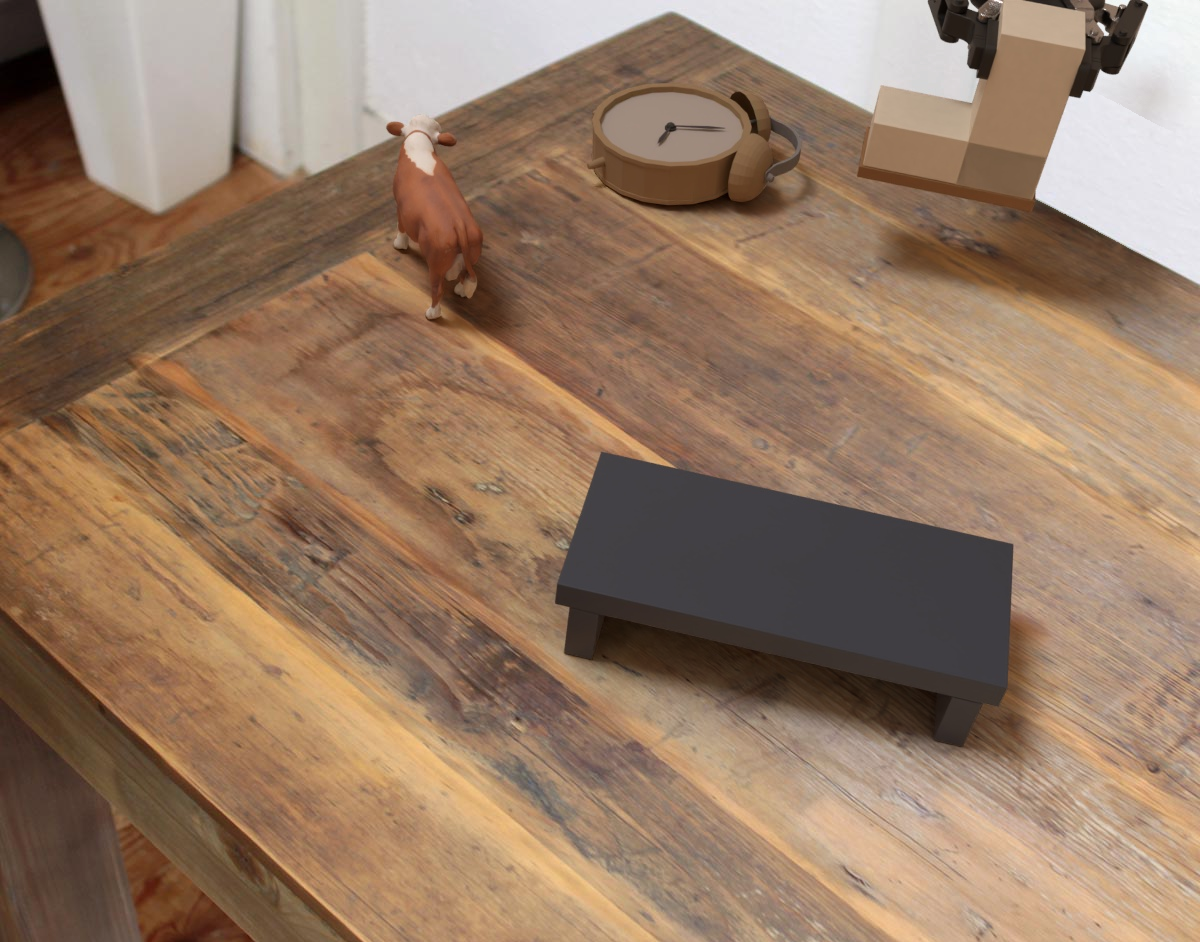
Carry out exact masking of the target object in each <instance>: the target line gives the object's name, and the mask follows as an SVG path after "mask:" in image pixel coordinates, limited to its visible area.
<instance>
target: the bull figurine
mask: <svg viewBox="0 0 1200 942" xmlns="http://www.w3.org/2000/svg"><path fill="white" fill-rule="evenodd" d="M385 129H386V131H387V133H389V135H392V136H395V137H404V138H405V139H404V140H403V143H402V145H401V146H400V150H399V154H398V155H399V156H398V160H397V162H398V163H397V166H396V170H395V174H394V176H393V180H392V181H393V182H392V194H393V197H394V200H395V202H396V217H397V224H396V228H397V231H398V233H397V236H396V238H395V239H393V242H392V247H393V248H394V249H395V250H400V249H403V250H407V249H408V247H409V239H410V240H411V241H412V242H414V243H415V244H416V245H417V246H419V249H420V251H421V253H422V255H423V256H424V258H425V261H426V263H427V266H428V269H429V270H428V271H429V281H430V286H431V289H430V296H431V304H430V306H429V307H428V308H427V310H426V311H425V312H424V316H425V318H427V320H436V319H438V318H440V317H441V315H442V307H441V299H442V297H443V295H444V294H445V279H446V281H450V282H451V281H453V280H457V279H458V277H459V282H457V284H456V285H455V287H454V289H453V292H454V293H455V294H456V295H458V296H460V297H461V298H465V297H466V298H467V299H471V298H472V297H473V296H474V293H475V291H476V290H477V286H478V278H477V275H476V273H475V271H474V269H473V266H475V265H476V264H477V263H478V260H479V258H480V256H481V254H482V252H483V251H482V250H483V248H482V247H483V243H484V234H483V231H482V229H481V227H480V226H479V224H478V223H477V221H476V220H475V218H474V215H473V212H472V210H471V207H470V205H469V204H468V203H467V200H466V199H465V196H464V195H463V193H462V191H461V189H460V187H459V186H458V184H457V182H456V180H455V178H454V176H453V174H452V172H451V170H450V168H449V167H448V165H446V163H445V162H444V161H443V160H442V159H441V158H440V157H438V155H437V154H438V153H439V151H440V146H443V147H454V146H456V145H457V142H458V140H457V138H456V136H455V135H454V134H452V133H451V132H442V126H441V125H440V123H439V122H438V121H436V120H435V119H434V118H433V117H431V116H429V115H427V114H417V115H415V116H413V117H412V118H410V121H409V123H408V124H407V125H406V124H404V123H403V122H401V121H390V122H388V123H387V124H386V126H385Z"/></svg>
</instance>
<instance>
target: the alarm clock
mask: <svg viewBox="0 0 1200 942" xmlns="http://www.w3.org/2000/svg"><path fill="white" fill-rule="evenodd" d="M592 116H593V117H592V119H591V125H592V143H591V145H592V147H591V149H592V150H591V151H592V152H591V154H590V155H591V161H590V162H588V163H587V164H586V167H587V169H588V170H593V172H594V173H595V174H596V175H597V177H598V178H599V180H600V181H601V182H602V183H603V184H604V185H606V186H607V187H609V188H610V189H612V190H613V191H615V192H616V193H618V194H620V195H622V196H625V197H628V198H630V199H634V200H637V201H640V202H642V203H649V204H658V205H665V206H676V205H677V206H679V205H696V204H698V203H703V202H708V201H712V200H716V199H717V198H719V197H721V196H724V195H726V194H727V193H728V198H729V199H730V200H731V201H733V202H738V203H744V202H750V201H752V200H754V199H755V198H757V197H758V196H759V195H760V194H761V193H762V192H763V191H764V189H765V188H766V186H767V184H768V183H772V182H774V181H775V178H776V177H779V176H782V175H784V174H786V173H788V172H790V171H792V170H794V169H795V167H797V166H798V164H799V162H800V160H801V159H800V158H801V151H802V143H803V142H802V139H801V136H800V134H799V132H798V131H797V130H796V129H795V128H793V127H792V126H790V125H789V124H787V123H786V122H783V121H780V120H779V119H776V118H775V117H773V116H772V115H770V112H769V109H768V107H767V104H766V103H765V101H763V99H762V98H761V97H760V96H759V95H757V94H755V93H754V92H752V91H749V90H737V91H734V92H733V93H732V94H731V95H730V97H728V96H726V95H724V94H723V93H721V92H718V91H715V90H712V89H709V88H706V87H702V86H699V85H695V84H687V83H686V84H685V83H677V82H666V83H665V82H661V83H660V82H659V83H646V84H641V85H636V86H631V87H627V88H625V89H622V90H620V91H617V92H616V93H614V94H611V95H609V96H608V97H607V98H606V99H604V100H603V101H602V102H601V103H600V104H598V106H596V109H594V110H593V111H592ZM772 132H773V133H774V134H777V135H779V136H781V137H783V138H784V139H786V140H787V141H788V142H789V143H791V145H792V147H793V148H794V153H793V154H792V155H791V156H789V157H788V158H786V159H784V160H782V161H779V162H777V163H774V157H773V151H772V148H771V146H770V144H769V141H770V138H771V135H772Z"/></svg>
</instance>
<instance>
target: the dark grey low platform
mask: <svg viewBox="0 0 1200 942" xmlns="http://www.w3.org/2000/svg"><path fill="white" fill-rule="evenodd" d="M1013 566H1014V543H1011V542H1007V541H1002V540H997V539H994V538H990V537H989V538H988V537H984V536H980V535H975V534H971V533H967V532H962V531H958V530H953V529H948V528H945V527H940V526H936V525H930V524H927V523H921V522H918V521H913V520H908V519H904V518H900V517H895V516H891V515H886V514H883V513H878V512H873V511H869V510H864V509H859V508H855V507H850V506H846V505H843V504H842V505H841V504H837V503H833V502H829V501H824V500H819V499H815V498H811V497H806V496H802V495H797V494H793V493H790V492H789V493H787V492H785V491H784V492H783V491H780V490H776V489H771V488H766V487H761V486H757V485H752V484H748V483H743V482H739V481H735V480H731V479H726V478H722V477H717V476H713V475H708V474H705V473H700V472H695V471H691V470H687V469H681V468H677V467H674V466H673V467H672V466H669V465H668V466H667V465H665V464H659V463H655V462H650V461H646V460H642V459H637V458H632V457H628V456H623V455H619V454H616V453H615V454H614V453H610V452H605V451H601V452H600V454H599V457H598V460H597V463H596V466H595V469H594V471H593V475H592V478H591V480H590V484H589V487H588V490H587V492H586V495H585V498H584V502H583V505H582V508H581V511H580V513H579V517H578V520H577V523H576V525H575V529H574V532H573V535H572V539H571V541H570V544H569V547H568V549H567V552H566V556H565V559H564V561H563V565H562V568H561V570H560V574H559V576H558V579H557V582H556V590H555V596H554V597H555V598H554V604H555V605H559V606H563V607H566V608H569V609H568V616H567V623H566V631H565V640H564V648H563V654H566V655H570V656H573V657H578V658H583V659H586V660H593V659H594V655H595V652H596V649H597V645H598V642H599V638H600V635H601V632H602V628H603V625H604V621H605V618H606V617H609V618H613V619H618V620H623V621H627V622H631V623H636V624H640V625H644V626H649V627H653V628H657V629H661V630H666V631H669V632H674V633H678V634H683V635H687V636H691V637H696V638H700V639H704V640H709V641H712V642H717V643H721V644H726V645H730V646H734V647H738V648H742V649H747V650H752V651H755V652H760V653H764V654H768V655H772V656H778V657H781V658H786V659H790V660H794V661H799V662H803V663H806V664H811V665H816V666H820V667H824V668H829V669H833V670H838V671H842V672H846V673H850V674H855V675H858V676H863V677H867V678H872V679H876V680H880V681H883V682H889V683H893V684H896V685H902V686H906V687H910V688H915V689H918V690H924V691H928V692H932V693H936V704H935V714H934V725H933V727H934V728H933V736H932V737H933V739H932V740H933V741H935V742H940V743H945V744H948V745H953V746H957V747H961V748H962V747H964V745H965V743H966V741H967V738H968V736H969V734H970V732H971V730H972V728H973V726H974V723H975V721H976V720H977V717H978V714H979V713H980V711H981V708H982V707H983V704H984V705H988V706H992V707H995V708H998V707H1000V705H1001V702H1002V701H1003V698H1004V696H1005V694H1006V693H1007V690H1008V688H1009V687H1008V686H1009V664H1010V663H1009V662H1010V642H1011V641H1010V640H1011V638H1010V637H1011V620H1012V619H1011V618H1012V617H1011V616H1012V615H1011V614H1012V594H1013V592H1012V590H1013V572H1014V571H1013V568H1014V567H1013Z"/></svg>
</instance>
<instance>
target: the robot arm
mask: <svg viewBox="0 0 1200 942" xmlns="http://www.w3.org/2000/svg"><path fill="white" fill-rule="evenodd" d="M1024 1H1029V2H1034V3H1040V4H1045V5H1050V6H1055V7H1060V8H1066V9H1071V10H1076V11H1081V12H1085V49H1086V50H1085V53H1084V56H1083V58H1082V61H1081V64H1080V66H1079V69H1078V71H1077V74H1076V77H1075V80H1074V83H1073V86H1072V88H1071V91H1070V94H1069V98H1071V97H1072V98H1076V99H1081V98H1082V95H1083V92H1088V93H1091V91H1093V90H1094V87H1095V85H1096V83H1097V79H1098V77H1099V74H1100V72H1103V73H1105V74H1107V75H1111V76H1116V75H1119V74H1120V71H1122V68H1123V66H1124V64H1125V62H1126V60H1127V58H1128V56H1129V54H1130V52H1131V50H1132V48H1133V46H1134V44H1135V43H1136V40H1137V37H1138V34H1139V31H1140V29H1141V26H1142V24H1143V21H1144V18H1145V16H1146V13H1147V10H1148V8H1149V3H1148V2H1146V1H1144V0H1129V1H1128V3H1127V4H1122V3H1121V4H1119V5H1118V6H1117V5H1114V4H1110V3H1106V0H1024ZM1002 2H1003V0H927V5H928V7H929V11H930V13H931V15H932V19H933V22H934V25H935V28H936V30H937V34H938V37H939V39H940V40H941V41H942V42H944V43H948V44H957V43H958V42H959V41H960V40H962V41H964V42H965V43H966V44H967V50H968V51H967V59H966V65H967V67H968V68H969V69H971V70H974V71H976V74H975V78H976V79H978V80H979V79H984V80H988V77H989V74H990V71H991V68H992V65H993V61H994V58H995V55H996V51H997V41H998V29H999V21H997V20H998V18H999V14H1000V9H1001V6H1002ZM970 4H971V5H972V6H974V8H976V9H977V11H976V10H974V9H970V8H969V7H970V6H969V5H970ZM1098 23H1100V24H1101V25H1103V27H1104V31H1105V32H1106V33H1107V34H1108V35H1105V33H1104V31H1103V30H1102V28H1101V27H1100V25H1099V24H1098Z"/></svg>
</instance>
